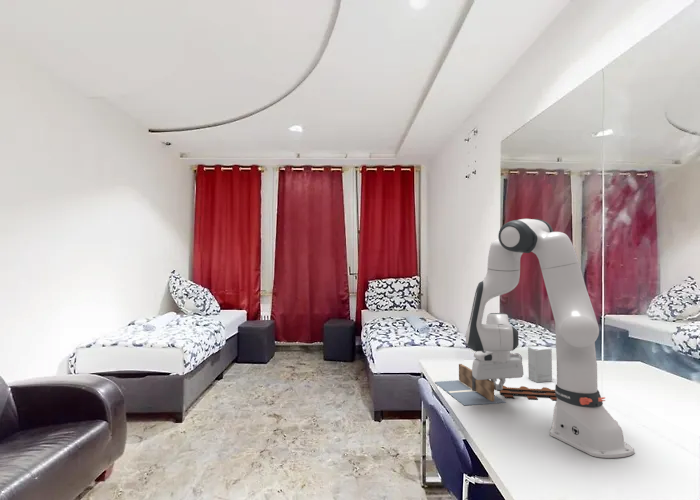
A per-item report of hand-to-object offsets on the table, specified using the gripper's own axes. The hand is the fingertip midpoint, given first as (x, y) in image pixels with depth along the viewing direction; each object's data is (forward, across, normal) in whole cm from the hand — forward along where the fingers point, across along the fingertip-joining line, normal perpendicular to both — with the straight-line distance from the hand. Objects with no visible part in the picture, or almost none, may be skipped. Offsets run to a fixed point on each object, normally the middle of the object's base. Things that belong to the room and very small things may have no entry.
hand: (498, 389), depth 152 cm
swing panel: (+3, +4, -2) cm, 6 cm away
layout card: (+4, +8, -10) cm, 13 cm away
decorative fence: (+5, -16, -4) cm, 17 cm away
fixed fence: (+3, +5, -16) cm, 17 cm away
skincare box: (+4, -32, -18) cm, 37 cm away
